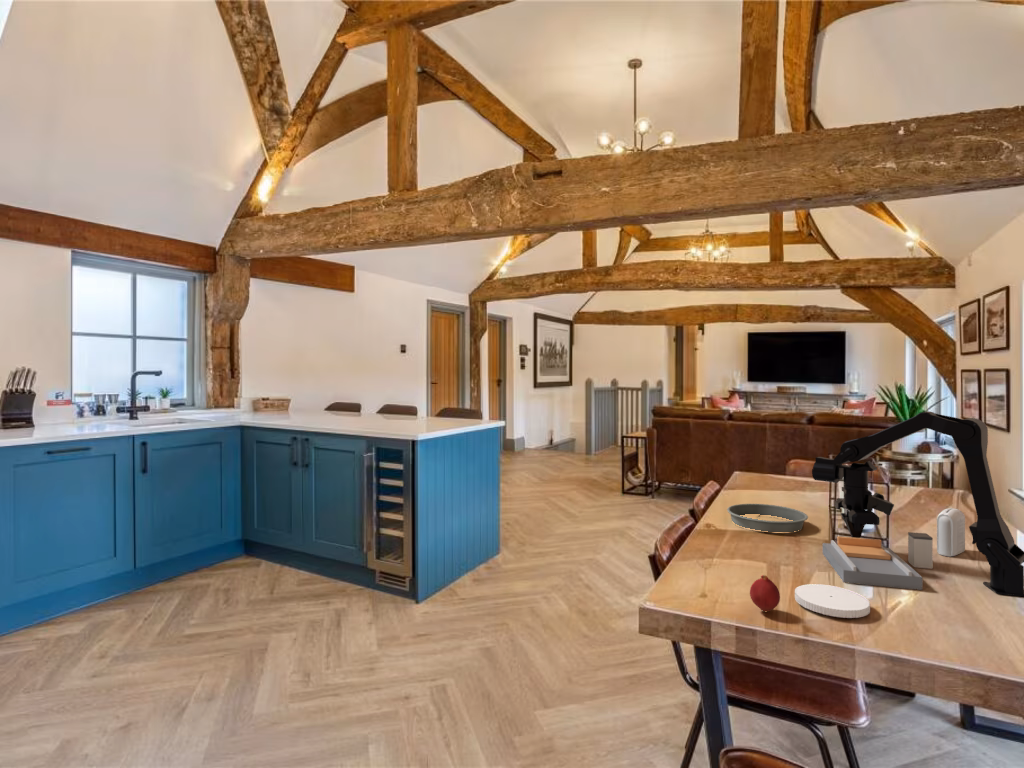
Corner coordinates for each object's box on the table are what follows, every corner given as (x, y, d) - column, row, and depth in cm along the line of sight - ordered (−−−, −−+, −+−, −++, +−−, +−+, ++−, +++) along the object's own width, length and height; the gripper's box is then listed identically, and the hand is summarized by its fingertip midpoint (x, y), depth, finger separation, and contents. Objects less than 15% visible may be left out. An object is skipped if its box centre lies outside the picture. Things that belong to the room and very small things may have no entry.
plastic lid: (781, 596, 123) (781, 585, 123) (840, 593, 124) (840, 582, 124) (821, 624, 109) (821, 611, 109) (886, 621, 110) (886, 609, 110)
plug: (932, 568, 138) (932, 537, 138) (914, 567, 139) (914, 536, 139) (926, 563, 142) (926, 533, 142) (908, 562, 143) (908, 532, 143)
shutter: (890, 560, 136) (890, 548, 136) (845, 556, 139) (845, 545, 139) (880, 550, 143) (880, 539, 143) (837, 546, 146) (837, 536, 146)
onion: (754, 603, 118) (754, 567, 118) (783, 610, 115) (782, 573, 114) (746, 612, 114) (746, 575, 114) (776, 620, 110) (775, 581, 110)
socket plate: (922, 590, 124) (922, 572, 124) (843, 582, 129) (843, 566, 129) (889, 559, 145) (889, 544, 145) (822, 553, 150) (822, 539, 150)
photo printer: (948, 547, 155) (948, 504, 154) (967, 551, 151) (967, 507, 151) (934, 554, 149) (934, 509, 149) (953, 558, 145) (953, 513, 145)
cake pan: (815, 538, 165) (815, 524, 165) (729, 532, 173) (729, 518, 173) (800, 518, 188) (800, 505, 188) (725, 513, 196) (725, 501, 196)
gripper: (902, 494, 136) (903, 555, 136) (878, 480, 153) (879, 534, 154) (852, 491, 139) (852, 551, 140) (834, 478, 157) (835, 531, 157)
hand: (856, 541), depth 147 cm, fingers closed
